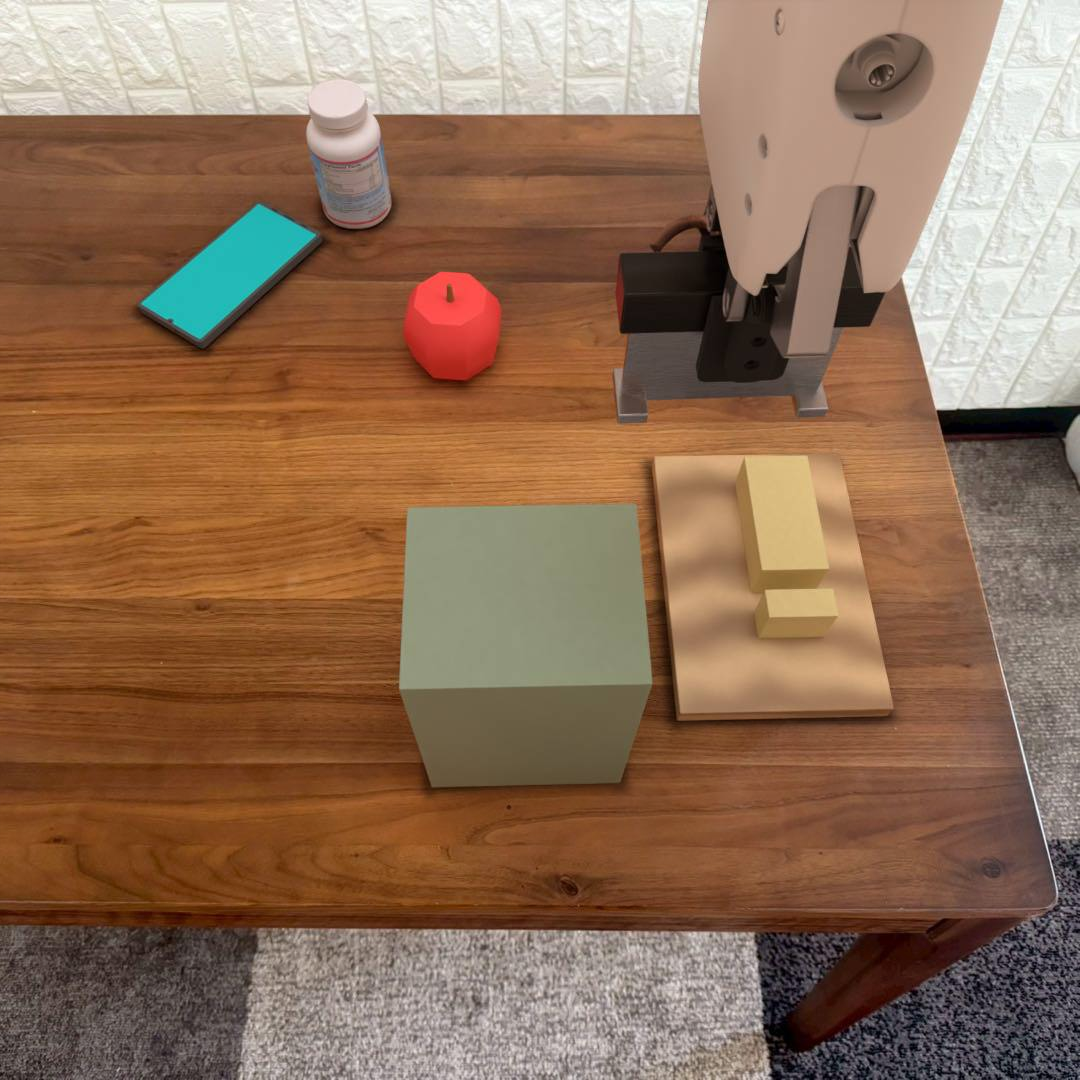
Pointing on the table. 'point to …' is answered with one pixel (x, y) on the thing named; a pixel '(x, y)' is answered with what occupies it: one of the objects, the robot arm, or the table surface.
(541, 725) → the stand
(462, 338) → the apple
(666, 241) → the broken pottery vessel
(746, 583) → the board
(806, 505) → the butter stick
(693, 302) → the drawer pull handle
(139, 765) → the table surface
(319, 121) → the pill bottle
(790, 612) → the butter slice
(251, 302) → the smartphone
